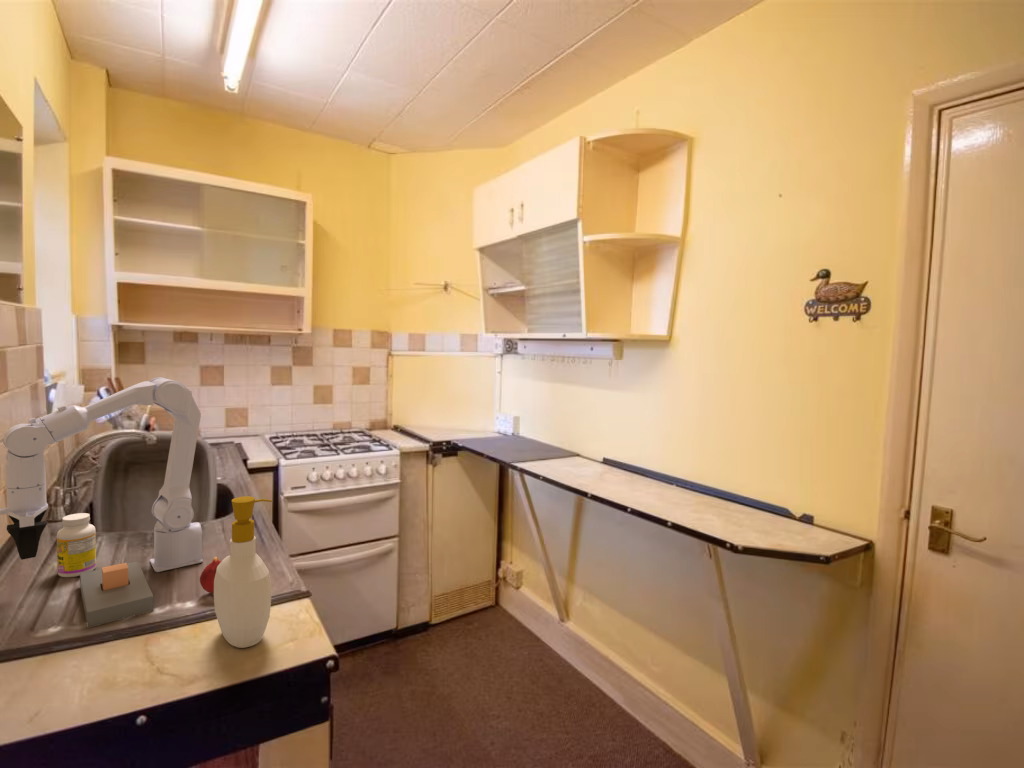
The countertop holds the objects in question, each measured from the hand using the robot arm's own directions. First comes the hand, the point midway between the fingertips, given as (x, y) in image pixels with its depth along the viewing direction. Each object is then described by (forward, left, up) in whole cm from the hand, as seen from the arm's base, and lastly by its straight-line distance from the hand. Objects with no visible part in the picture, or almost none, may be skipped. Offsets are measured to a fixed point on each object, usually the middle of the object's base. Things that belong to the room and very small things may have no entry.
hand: (28, 551), depth 102 cm
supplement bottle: (-8, -9, -10) cm, 16 cm away
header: (-13, +10, -10) cm, 19 cm away
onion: (-29, +20, -10) cm, 36 cm away
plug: (-13, +10, -10) cm, 19 cm away
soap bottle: (-29, +40, -10) cm, 50 cm away
